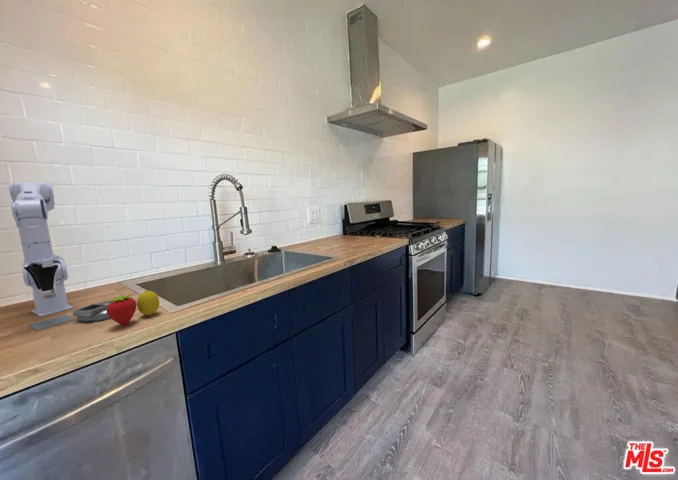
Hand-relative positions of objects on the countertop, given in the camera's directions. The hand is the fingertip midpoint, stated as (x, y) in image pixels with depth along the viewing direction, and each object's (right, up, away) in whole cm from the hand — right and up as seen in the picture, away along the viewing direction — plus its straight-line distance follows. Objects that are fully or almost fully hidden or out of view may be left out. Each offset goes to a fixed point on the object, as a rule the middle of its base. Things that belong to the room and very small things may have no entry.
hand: (45, 289), depth 82 cm
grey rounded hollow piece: (+12, -9, +7) cm, 16 cm away
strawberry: (+25, -10, -3) cm, 27 cm away
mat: (0, -10, +2) cm, 10 cm away
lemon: (+28, -9, +4) cm, 29 cm away
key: (0, -2, +1) cm, 2 cm away
